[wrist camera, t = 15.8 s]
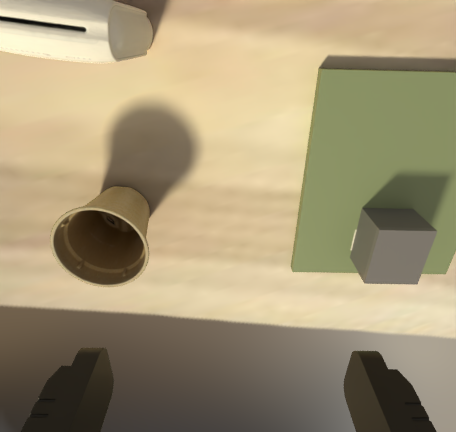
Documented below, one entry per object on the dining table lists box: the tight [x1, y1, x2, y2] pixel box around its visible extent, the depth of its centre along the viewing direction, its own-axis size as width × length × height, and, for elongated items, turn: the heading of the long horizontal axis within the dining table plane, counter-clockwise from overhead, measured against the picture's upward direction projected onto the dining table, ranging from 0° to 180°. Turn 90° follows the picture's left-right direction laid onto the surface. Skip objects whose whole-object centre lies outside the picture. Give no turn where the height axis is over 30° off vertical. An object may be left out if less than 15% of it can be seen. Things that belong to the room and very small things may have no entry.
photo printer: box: [0, 0, 153, 63], centre depth 25 cm, size 10×4×12 cm, turn 83°
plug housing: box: [350, 208, 438, 284], centre depth 38 cm, size 7×6×5 cm
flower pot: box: [50, 186, 150, 287], centre depth 36 cm, size 9×9×9 cm
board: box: [291, 68, 456, 274], centre depth 38 cm, size 24×20×1 cm
